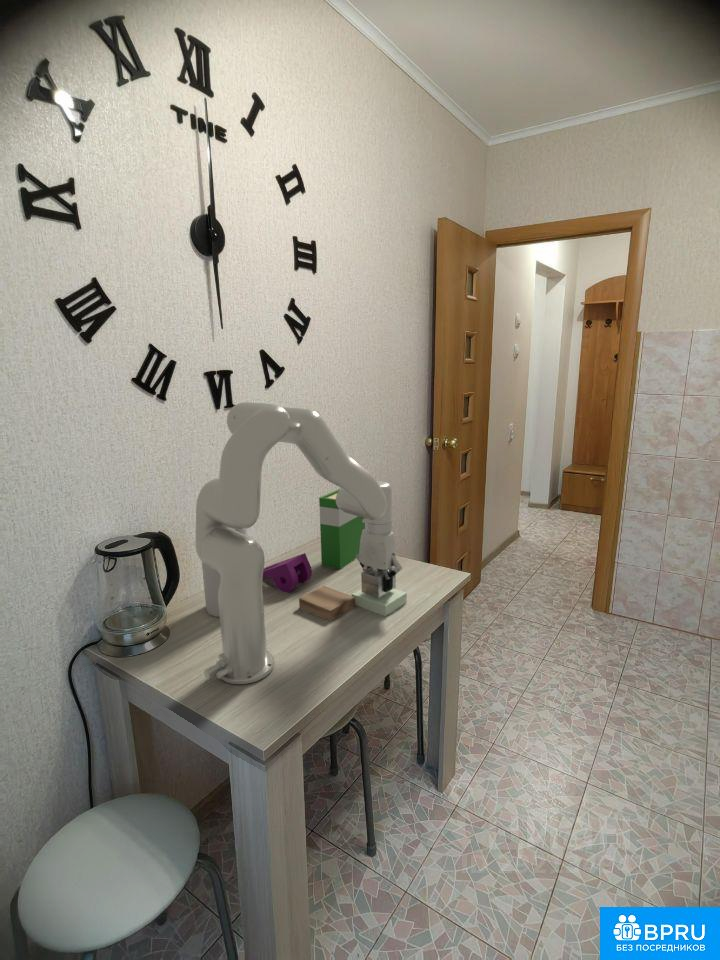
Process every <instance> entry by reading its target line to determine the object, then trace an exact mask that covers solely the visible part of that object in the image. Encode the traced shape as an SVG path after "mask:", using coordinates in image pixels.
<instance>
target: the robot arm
mask: <svg viewBox="0 0 720 960" xmlns="http://www.w3.org/2000/svg"><path fill="white" fill-rule="evenodd" d="M226 424H227V428H228V430H229V432H230V433H231V436H230V437H229V439H228V440H227V441H226V443H225V446H224V447H223V448H222V452H221V458H220V464H219V465H220V466H219V475H218V477H219V478H213V479H210V480H209V481H208V482H206V483H205V484H204V485H203V486H202V487H201V489H200V491H199V493H198V496H197V499H196V506H195V507H196V508H195V510H196V511H195V550H196V554H197V557H198V558H199V560H200V561H201V563H202V562H203V563H204V564H206V565H207V566H209V567H211V568H212V569H214V570H215V571H217V572H219V573H220V576H221V582H220V586H219V591H218V606H219V614H220V617H219V621H220V622H219V624H220V625H219V626H220V635H221V645H222V646H221V648H222V653H220V654H219V655H218V661H216V662H215V664H214V665H212V666H209V667H208V668H206V669H204V670H203V674H204V677H205V678H207V679H210V678H211V677H213V676H215V675H216V677H217V679H218V680H222V681H223V682H225V683H227V684H232V685H247V684H251V683H255V682H258V681H260V680H261V679H264V678H265V677H267V676H268V675H269V674H270V673H271V672H272V671H273V669H274V668H275V657H274V655H273V654H272V652H270V651H268V650H267V638H266V637H267V635H266V634H267V633H266V623H265V608H264V607H265V606H264V593H263V570H264V568H265V560H266V559H265V552H264V549H263V548H262V546H261V545H260V543H259V542H257V540H255V539H254V538H252V537H251V536H248V534H247V535H245V534H242V533H240V532H237V531H235V529H246V530H247V529H250V528H251V527H253V526H254V525H255V524H256V523H257V521H258V519H259V516H260V513H261V512H260V511H261V510H260V509H261V492H262V491H261V486H262V472H263V471H262V470H263V464H264V461H265V459H266V456H267V455H268V453H270V451H271V449H273V448H274V446H275V445H277V444H278V443H285V444H286V443H287V444H292V445H295V446H297V448H298V450H299V451H300V452H301V454H302V455H303V456H304V457H305V458H306V460H307V462H308V463H309V464H310V465H311V467H312V468H313V470H314V471H315V473H316V474H317V475H318V476H320V477H321V478H323V479H325V481H328V482H329V483H331V484H333V485H335V486H337V487H339V489H340V488H342V489H340V490H339V492H338V493H337V495H336V504H337V506H338V508H339V509H340V510H342V511H343V512H345V513H349V514H352V515H355V516H359V517H363V518H365V519H363V521H362V523H363V524H365V529H363V530H362V534H361V540H360V551H359V554H358V555H356V559H357V561H358V562H359V565H360V566H361V568H362V571H364V570H366V569H368V568H370V567H373V568H376V569H379V570H383V571H384V574H385V577H386V578H385V579H384V592H388V591H390V590H391V589H392V587H393V577H394V576H395V575H398V573H400V572H401V571H402V570H403V566H402V565H401V564H400V562H399V560H398V559H397V546H396V545H397V543H396V539H395V533H394V531H393V526H392V525H393V488H392V485H391V484H390V483H388V482H385V481H380V480H379V481H378V480H377V479H376V478H375V477H374V476H373V475H372V474H371V473H370V472H369V471H368V470H367V469H365V467H363V466H362V465H360V463H358V462H357V461H356V460H355V459H353V458H352V457H351V456H350V455H348V454H347V453H346V451H344V449H343V447H342V446H341V444H340V443H339V441H338V439H337V438H336V436H335V435H334V433H333V432H332V430H331V429H330V427H329V425H327V423H326V421H325V420H324V419H323V417H322V416H321V415H320V414H319V413H318V412H317V411H315V410H313V409H310V408H309V409H308V408H301V407H300V408H298V407H285V406H284V407H283V406H280V405H277V404H273V403H267V402H266V403H265V402H248V401H247V402H246V401H245V402H240V403H236V404H235V405H233V407H231V408H230V410H229V411H228V413H227V415H226ZM393 568H395V569H394V570H393ZM388 569H389V572H388Z"/></svg>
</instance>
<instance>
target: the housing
mask: <svg viewBox="0 0 720 960" xmlns="http://www.w3.org/2000/svg"><path fill="white" fill-rule="evenodd" d="M394 569H395V567H393V570H394ZM388 572H389V569H388ZM360 573H361V574H360V576H361V578H360V579H361V588H362V592H363V593H366V594H369V595H372V596H375V597H377V598H379V597H381V596H383V595H384V594H386V593H388V592H389V591H388V592H384V579H385V578H386V577H385V574H384V571H383V570H379V569H376V568H373V567H370V568H368V569H366V570H364V571H363V570H362V571H361V572H360ZM396 575H397V574H396ZM396 575H395V576H394V577H393V587H392V589H391V590H393V589H396V588H397V587H396V583H397V581H396V580H397V577H396ZM391 590H390V591H391Z"/></svg>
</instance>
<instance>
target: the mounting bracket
mask: <svg viewBox="0 0 720 960" xmlns="http://www.w3.org/2000/svg"><path fill="white" fill-rule="evenodd" d="M306 554H307V553H305V552H304V553H302V554H298V555H296V556H293V557H289V558H288V559H285V560H282V561H278V562H276V563H274V564H271V565H268V566H267V567H264V570H263V579H267V578H272V581H273V583H274V585H275V587H276V589H278V591H279V592H284V593H290V592H292V591H293V590H295V589H296V588H297V587H298V585H299V584H300V585H301V584H304V583H306V582H307V581H309V580H311V578H312V575H313V569H312V566H311V564H310V561H309V559H308V556H307V555H306Z"/></svg>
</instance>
